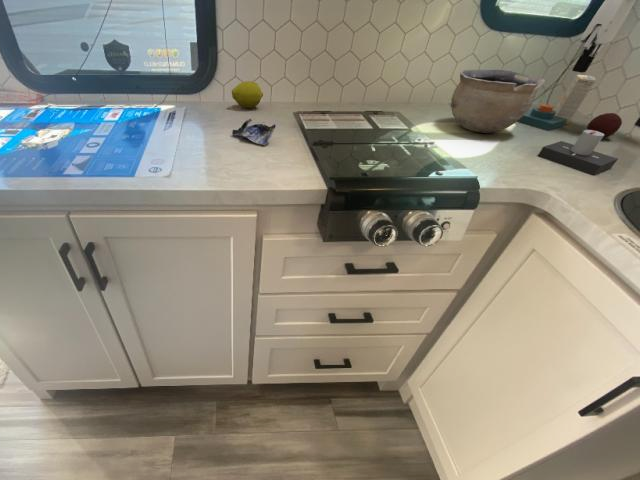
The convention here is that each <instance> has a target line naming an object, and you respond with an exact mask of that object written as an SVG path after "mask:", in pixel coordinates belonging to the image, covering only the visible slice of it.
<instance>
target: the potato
mask: <svg viewBox="0 0 640 480" xmlns="http://www.w3.org/2000/svg"><path fill="white" fill-rule="evenodd" d="M622 125H623V120H622V118H621V117H620V115H619V114H617V113H616V112H615V113H614V112H607V113H602V114H600V115H597V116H595V117H593V118H592V119H591V120H590V121H589V123H588V124H587V127H586V130H593V131H598V132H601V133H603V134H604V136H603V138H602V139H605V138H609V137H611V136H612V135H614V134H615V133H616V132H618V130H619V129H620V128H621V127H622Z"/></svg>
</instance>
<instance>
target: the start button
mask: <svg viewBox="0 0 640 480" xmlns="http://www.w3.org/2000/svg"><path fill="white" fill-rule="evenodd" d="M539 107H540V108H539V109H538V110H539V111H543V112H551V111H552V110H554V105H551V104H547V103H546V104H545V103H543V104H540V106H539Z"/></svg>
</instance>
